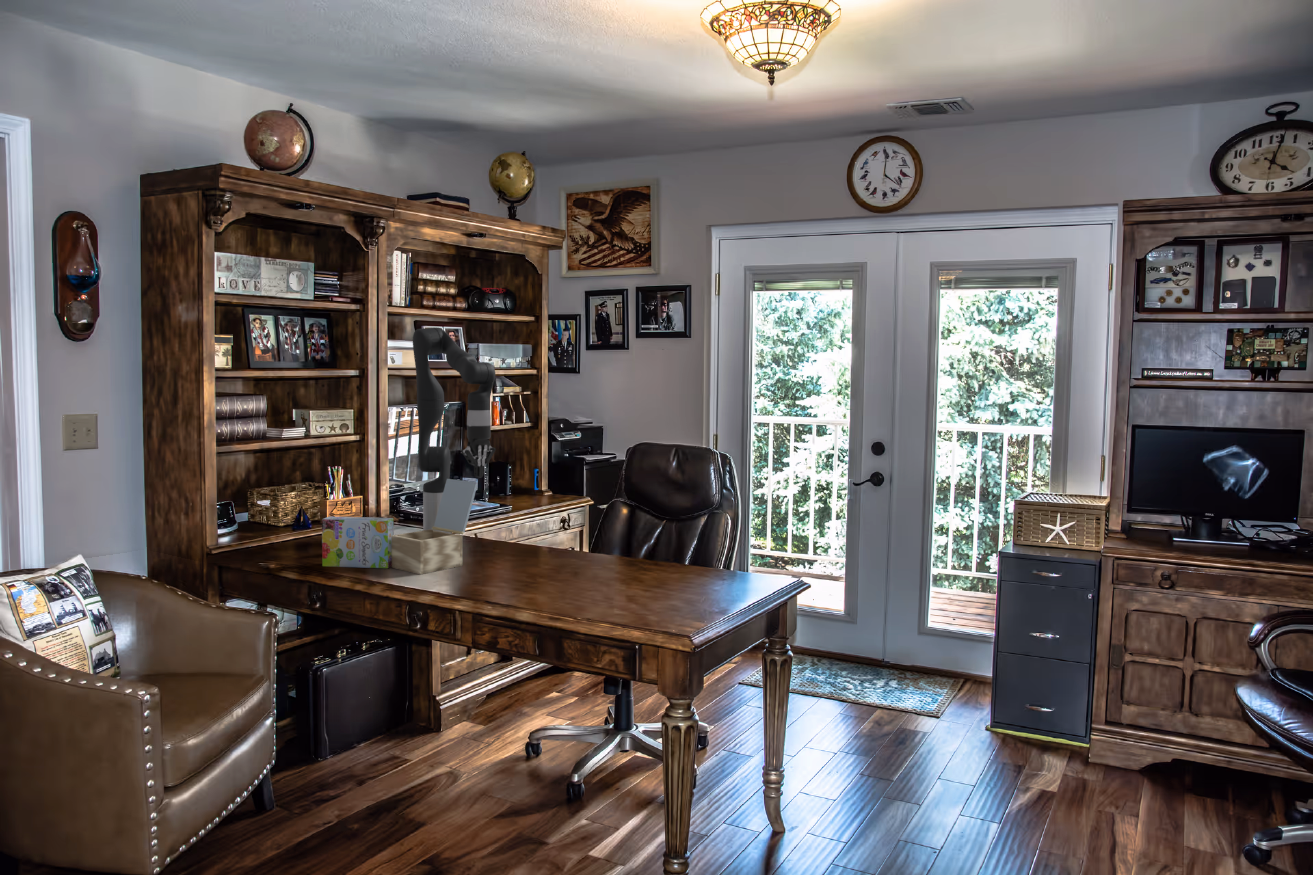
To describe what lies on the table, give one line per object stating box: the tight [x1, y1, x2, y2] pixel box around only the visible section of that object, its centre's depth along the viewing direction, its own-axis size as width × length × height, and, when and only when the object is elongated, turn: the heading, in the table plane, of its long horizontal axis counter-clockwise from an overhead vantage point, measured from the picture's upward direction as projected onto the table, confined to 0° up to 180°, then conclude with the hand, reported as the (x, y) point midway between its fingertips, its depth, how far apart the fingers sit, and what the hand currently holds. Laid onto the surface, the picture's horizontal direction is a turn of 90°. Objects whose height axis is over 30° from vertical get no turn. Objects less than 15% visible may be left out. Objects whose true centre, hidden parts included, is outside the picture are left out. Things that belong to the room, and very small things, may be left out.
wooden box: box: [391, 529, 464, 575], centre depth 289 cm, size 16×14×10 cm
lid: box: [432, 478, 478, 536], centre depth 296 cm, size 17×14×1 cm
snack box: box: [321, 516, 395, 569], centre depth 289 cm, size 21×6×15 cm, turn 84°
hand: (478, 477), depth 304 cm, fingers closed
